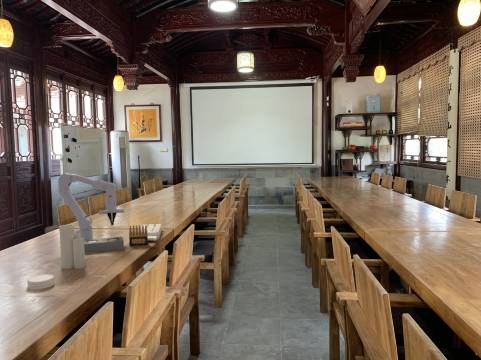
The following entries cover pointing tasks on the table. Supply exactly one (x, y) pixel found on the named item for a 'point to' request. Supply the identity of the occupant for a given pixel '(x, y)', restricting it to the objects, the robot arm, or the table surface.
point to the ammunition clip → (139, 239)
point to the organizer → (152, 231)
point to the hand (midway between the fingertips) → (112, 225)
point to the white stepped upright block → (71, 248)
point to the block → (103, 244)
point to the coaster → (40, 282)
